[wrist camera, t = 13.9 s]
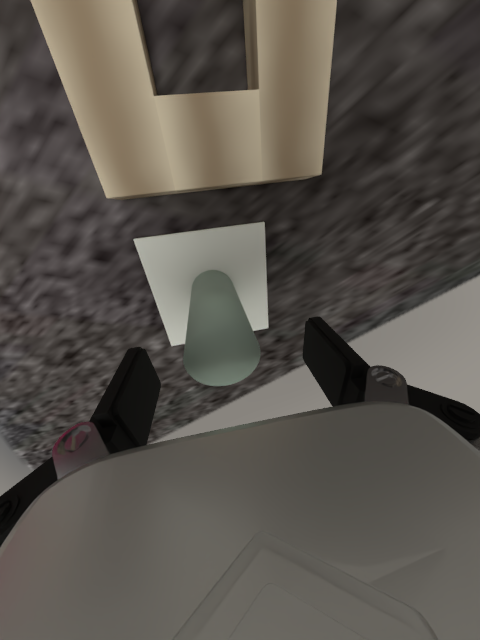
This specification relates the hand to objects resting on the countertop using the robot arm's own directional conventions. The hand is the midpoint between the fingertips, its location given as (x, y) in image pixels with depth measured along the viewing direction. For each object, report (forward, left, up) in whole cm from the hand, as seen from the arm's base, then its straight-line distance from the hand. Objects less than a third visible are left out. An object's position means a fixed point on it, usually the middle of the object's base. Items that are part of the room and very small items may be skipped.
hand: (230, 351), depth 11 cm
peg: (0, 0, -11) cm, 11 cm away
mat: (+1, 0, -12) cm, 11 cm away
